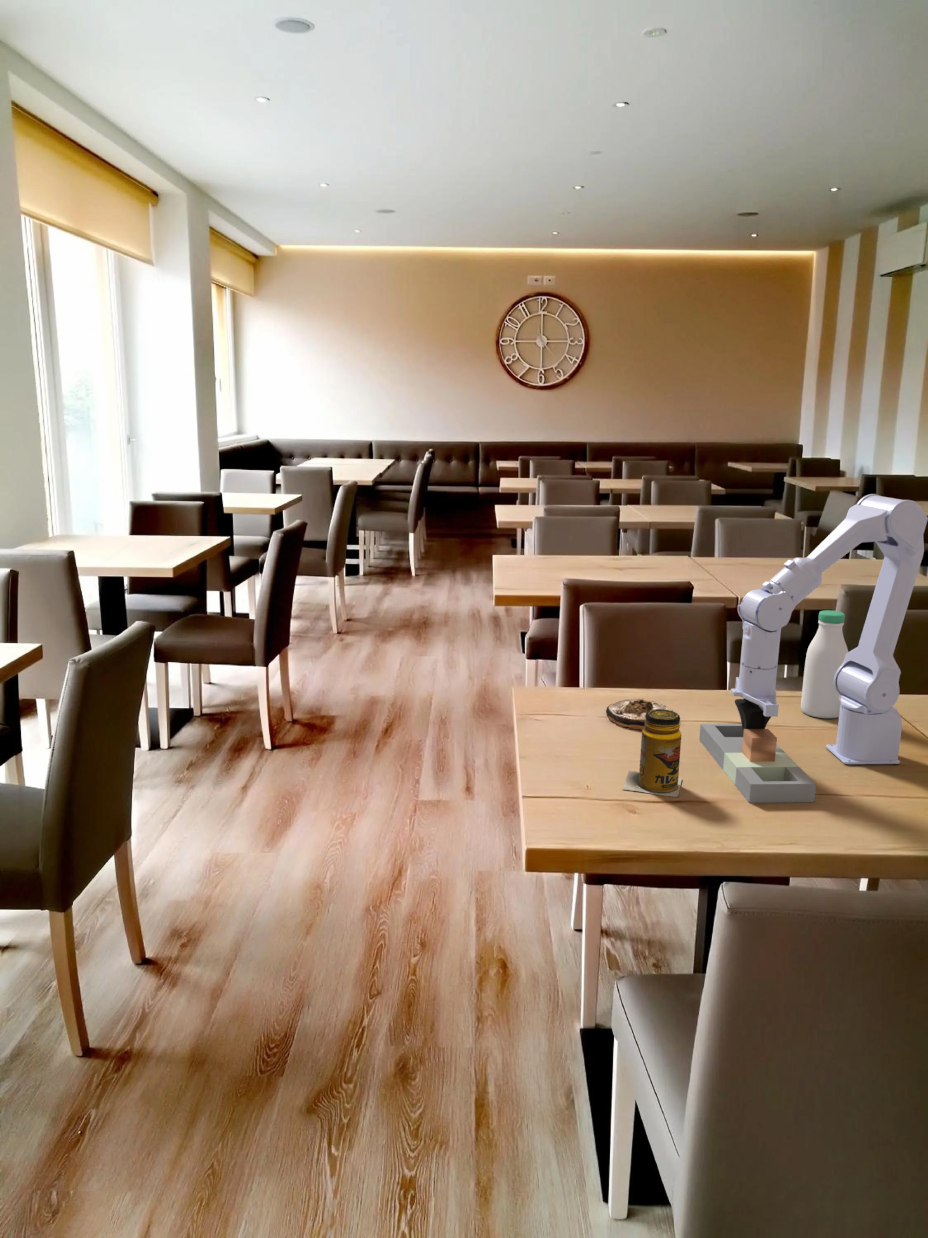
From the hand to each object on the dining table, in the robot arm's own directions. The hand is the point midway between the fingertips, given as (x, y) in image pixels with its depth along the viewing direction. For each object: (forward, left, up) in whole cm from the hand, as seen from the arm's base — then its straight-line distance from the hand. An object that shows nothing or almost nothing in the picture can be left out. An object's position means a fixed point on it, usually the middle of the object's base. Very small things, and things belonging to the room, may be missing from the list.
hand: (751, 743), depth 154 cm
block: (0, +3, -1) cm, 4 cm away
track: (0, +1, -4) cm, 4 cm away
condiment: (+18, +7, -4) cm, 20 cm away
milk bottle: (-23, -26, -4) cm, 35 cm away
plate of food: (+13, -23, -5) cm, 27 cm away
